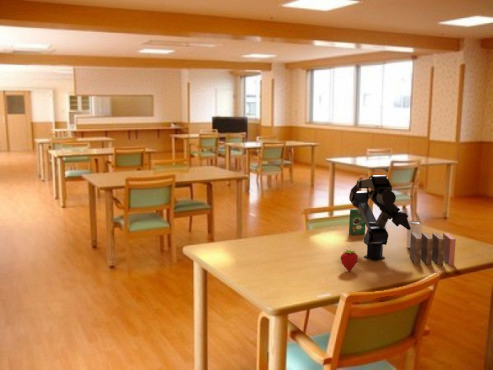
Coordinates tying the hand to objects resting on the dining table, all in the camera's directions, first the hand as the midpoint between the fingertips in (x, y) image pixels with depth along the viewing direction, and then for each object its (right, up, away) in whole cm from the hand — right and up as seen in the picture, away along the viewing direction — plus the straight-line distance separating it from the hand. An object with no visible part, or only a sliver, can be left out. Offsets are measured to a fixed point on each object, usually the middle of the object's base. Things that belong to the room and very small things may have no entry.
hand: (409, 229), depth 210 cm
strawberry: (-28, -16, -11) cm, 34 cm away
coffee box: (-12, -7, +45) cm, 47 cm away
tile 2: (+7, -14, +2) cm, 16 cm away
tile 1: (+3, -13, +2) cm, 14 cm away
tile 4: (+16, -14, +1) cm, 21 cm away
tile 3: (+12, -14, +1) cm, 18 cm away
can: (+9, -11, +21) cm, 25 cm away
